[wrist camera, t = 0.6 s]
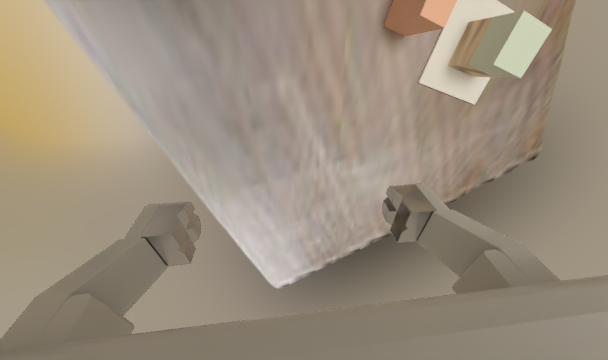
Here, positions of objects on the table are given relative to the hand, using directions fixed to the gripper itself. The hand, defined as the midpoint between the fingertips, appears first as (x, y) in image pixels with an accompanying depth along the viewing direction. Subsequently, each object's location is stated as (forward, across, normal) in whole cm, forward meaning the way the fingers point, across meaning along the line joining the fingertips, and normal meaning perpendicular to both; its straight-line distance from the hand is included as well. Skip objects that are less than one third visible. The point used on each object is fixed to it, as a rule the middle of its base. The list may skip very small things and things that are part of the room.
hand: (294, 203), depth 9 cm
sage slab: (+38, -42, 0) cm, 56 cm away
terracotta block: (+42, -23, -5) cm, 48 cm away
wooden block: (+42, -41, +1) cm, 59 cm away
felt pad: (+43, -41, +1) cm, 59 cm away
